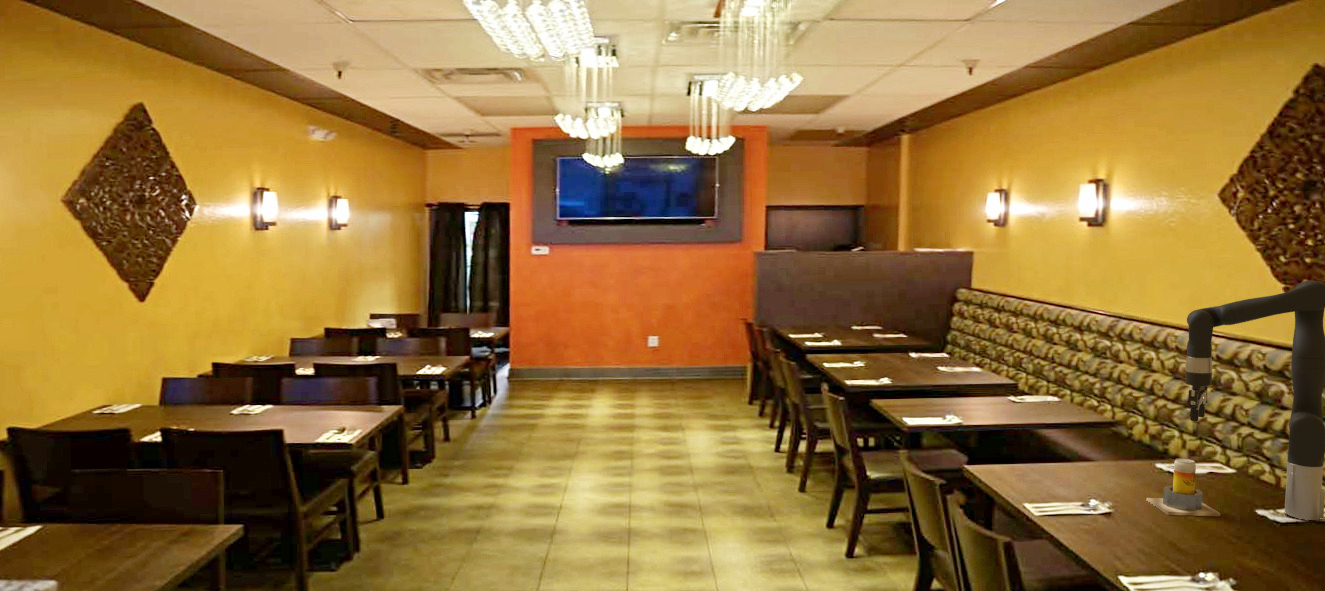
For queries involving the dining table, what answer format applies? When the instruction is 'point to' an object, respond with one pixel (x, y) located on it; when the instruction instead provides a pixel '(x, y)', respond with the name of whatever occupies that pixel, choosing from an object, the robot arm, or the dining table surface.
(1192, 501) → the gray faceted bowl
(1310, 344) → the robot arm
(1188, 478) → the beer can
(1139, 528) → the dining table surface
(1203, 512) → the birch board
